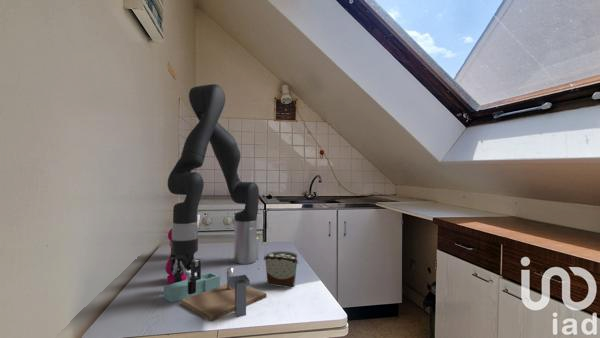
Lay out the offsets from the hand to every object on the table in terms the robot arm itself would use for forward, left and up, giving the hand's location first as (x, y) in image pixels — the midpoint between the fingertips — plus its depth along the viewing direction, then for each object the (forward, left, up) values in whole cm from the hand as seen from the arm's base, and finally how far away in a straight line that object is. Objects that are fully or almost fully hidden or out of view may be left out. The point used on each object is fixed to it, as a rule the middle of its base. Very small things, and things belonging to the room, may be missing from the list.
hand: (184, 289), depth 92 cm
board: (-6, +13, -1) cm, 14 cm away
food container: (-27, +16, -2) cm, 32 cm away
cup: (-21, -37, -2) cm, 42 cm away
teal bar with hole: (-3, 0, -1) cm, 3 cm away
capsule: (-10, +9, -1) cm, 14 cm away
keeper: (-4, +21, -1) cm, 22 cm away
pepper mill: (-4, -13, -2) cm, 14 cm away
